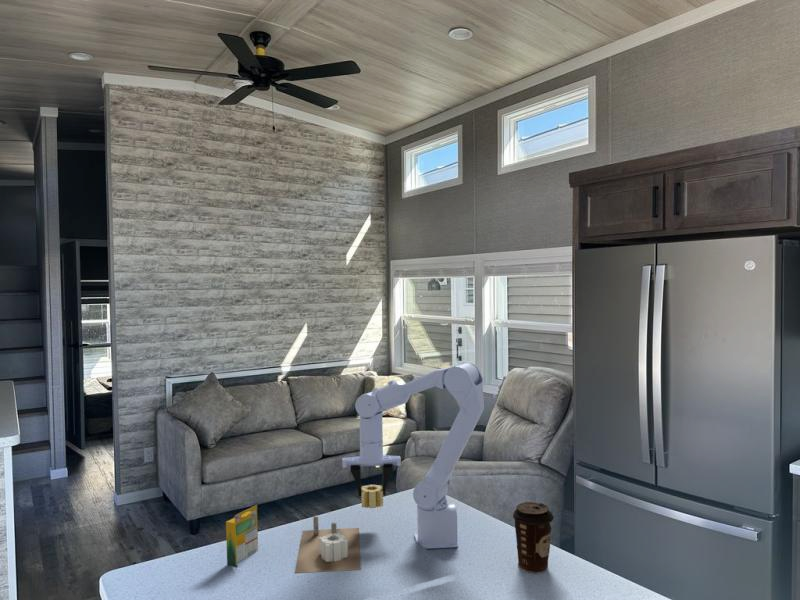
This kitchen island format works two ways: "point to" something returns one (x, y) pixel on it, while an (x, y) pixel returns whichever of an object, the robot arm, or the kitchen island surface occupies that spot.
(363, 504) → the brass gear
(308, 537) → the gear board
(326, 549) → the nylon gear
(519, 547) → the coffee cup
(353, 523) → the kitchen island surface
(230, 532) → the crayon box
